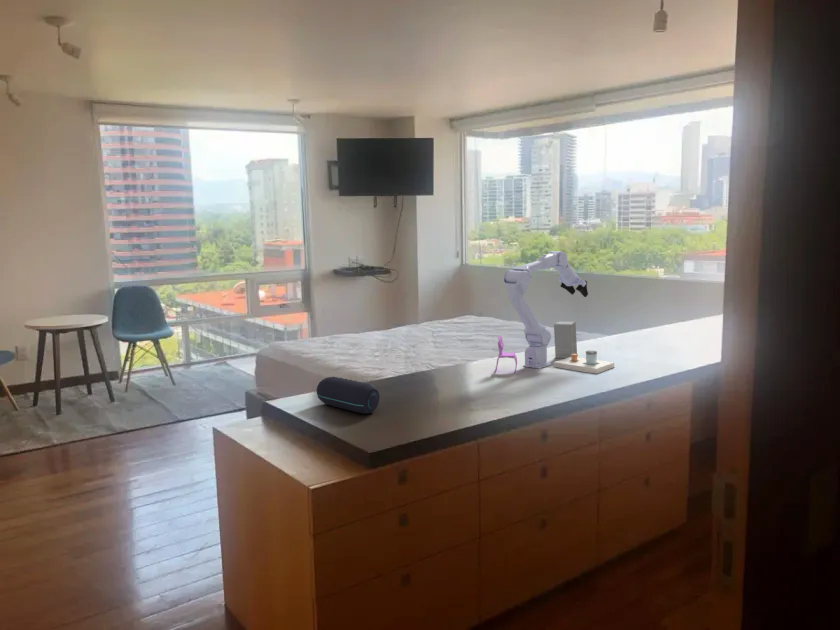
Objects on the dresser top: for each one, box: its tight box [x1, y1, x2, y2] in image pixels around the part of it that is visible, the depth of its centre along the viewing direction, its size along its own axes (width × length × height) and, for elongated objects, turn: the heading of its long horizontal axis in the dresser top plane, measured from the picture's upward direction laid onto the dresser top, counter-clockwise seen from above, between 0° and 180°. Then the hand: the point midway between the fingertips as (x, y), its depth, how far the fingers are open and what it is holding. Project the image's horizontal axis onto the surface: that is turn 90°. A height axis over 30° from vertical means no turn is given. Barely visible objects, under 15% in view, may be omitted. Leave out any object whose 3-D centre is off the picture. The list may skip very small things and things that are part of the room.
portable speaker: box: [315, 376, 380, 415], centre depth 221 cm, size 25×10×10 cm, turn 48°
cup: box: [585, 350, 598, 365], centre depth 269 cm, size 4×4×7 cm
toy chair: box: [494, 335, 518, 374], centre depth 267 cm, size 8×9×15 cm
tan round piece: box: [571, 353, 579, 362], centre depth 274 cm, size 3×3×3 cm
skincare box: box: [553, 321, 578, 359], centre depth 291 cm, size 8×7×16 cm
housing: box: [553, 356, 615, 375], centre depth 272 cm, size 14×20×2 cm
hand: (579, 294), depth 289 cm, fingers open, 7 cm apart
